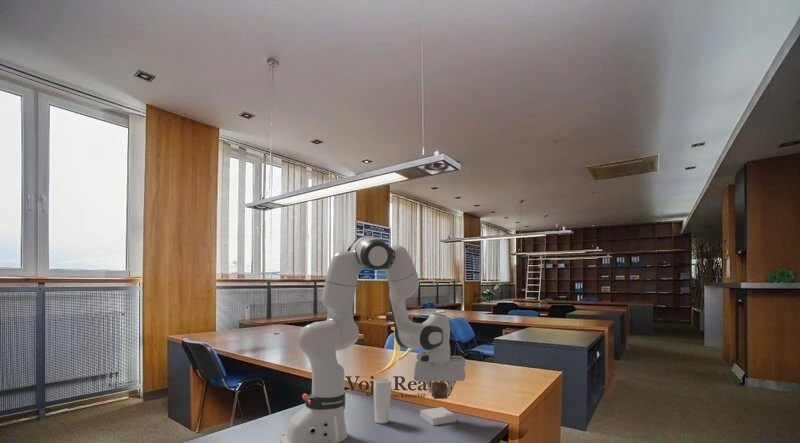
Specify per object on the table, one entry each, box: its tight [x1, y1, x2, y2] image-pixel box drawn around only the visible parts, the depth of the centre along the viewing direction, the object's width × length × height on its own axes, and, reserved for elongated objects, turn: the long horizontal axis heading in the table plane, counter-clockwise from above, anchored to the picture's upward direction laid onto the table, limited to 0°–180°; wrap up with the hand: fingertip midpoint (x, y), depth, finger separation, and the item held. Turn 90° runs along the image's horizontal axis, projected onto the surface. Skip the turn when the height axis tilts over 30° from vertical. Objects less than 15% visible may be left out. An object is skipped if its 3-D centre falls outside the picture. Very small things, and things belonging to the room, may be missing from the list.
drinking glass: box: [373, 377, 392, 425], centre depth 158 cm, size 7×7×15 cm
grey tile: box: [419, 406, 457, 426], centre depth 161 cm, size 10×10×2 cm
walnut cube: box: [430, 381, 449, 400], centre depth 161 cm, size 5×5×5 cm
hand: (439, 392), depth 161 cm, fingers closed on walnut cube, 5 cm apart
